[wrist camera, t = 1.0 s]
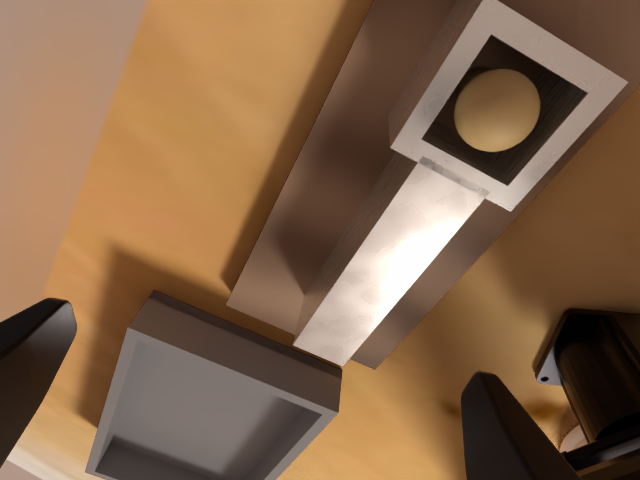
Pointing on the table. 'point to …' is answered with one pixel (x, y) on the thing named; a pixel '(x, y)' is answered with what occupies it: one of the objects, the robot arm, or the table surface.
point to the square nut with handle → (445, 172)
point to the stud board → (375, 153)
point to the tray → (208, 400)
